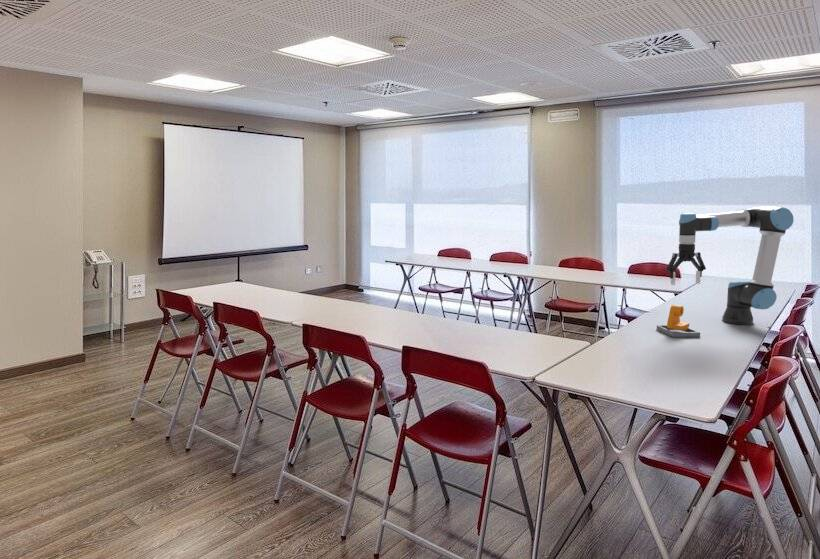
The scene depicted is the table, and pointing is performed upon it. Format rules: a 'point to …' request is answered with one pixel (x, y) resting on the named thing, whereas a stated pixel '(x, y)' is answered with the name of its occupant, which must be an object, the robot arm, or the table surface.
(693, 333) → the tray
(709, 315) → the table surface
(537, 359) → the table surface
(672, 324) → the bracket
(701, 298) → the table surface
